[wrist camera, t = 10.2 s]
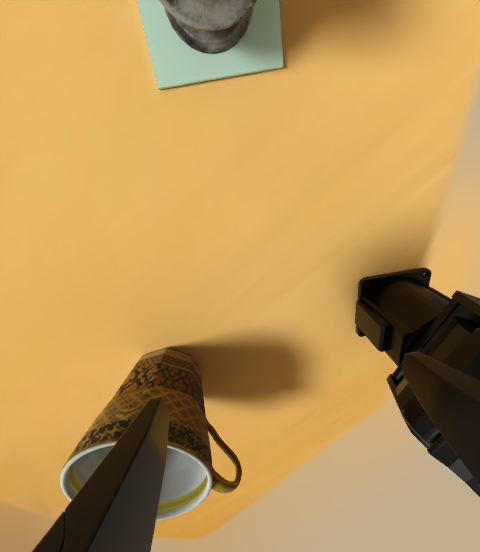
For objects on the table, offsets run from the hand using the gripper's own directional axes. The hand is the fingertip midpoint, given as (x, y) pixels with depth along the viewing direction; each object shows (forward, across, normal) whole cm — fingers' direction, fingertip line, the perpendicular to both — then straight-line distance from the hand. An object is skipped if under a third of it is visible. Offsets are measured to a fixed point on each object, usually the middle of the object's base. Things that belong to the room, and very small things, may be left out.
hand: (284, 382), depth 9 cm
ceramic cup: (+13, +9, +12) cm, 20 cm away
